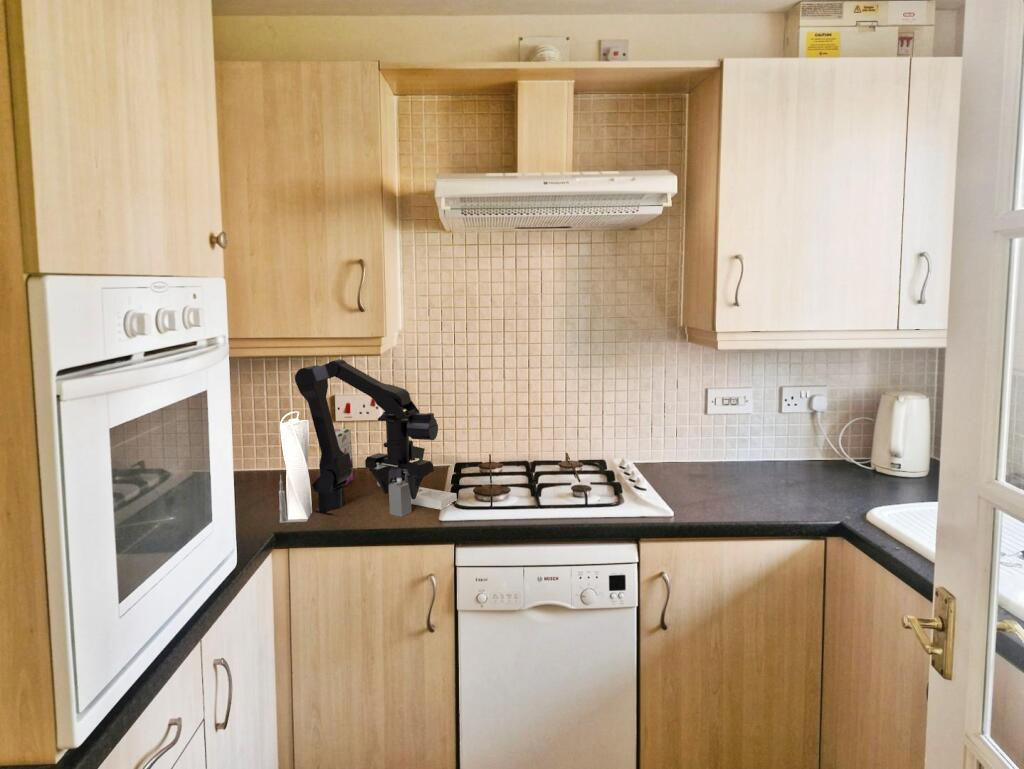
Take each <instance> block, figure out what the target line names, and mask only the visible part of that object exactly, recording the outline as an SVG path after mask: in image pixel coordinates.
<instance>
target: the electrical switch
mask: <svg viewBox="0 0 1024 769" xmlns="http://www.w3.org/2000/svg"><path fill="white" fill-rule="evenodd" d="M403 465H404V464H403ZM408 475H409V473H408V471H407V469H402V468H396V467H391V468H390V471H389V485H390V484H393V483H396V482H397V478H402V482H405V483H408V479H407V476H408ZM376 485H377V486H378V487H381V486H380V485H379V483H378V481H377V480H376Z"/></svg>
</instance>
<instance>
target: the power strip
mask: <svg viewBox="0 0 1024 769" xmlns="http://www.w3.org/2000/svg"><path fill="white" fill-rule="evenodd" d="M457 496H458V495H457V493H456V492H449V491H443V490H439V489H434V488H426V487H422V486H420V487H419V490H418V493H417V496H416V499H414V500H413V499H412V498H411V505H416V506H418V507H419V506H421V507H425V508H430V509H436V510H443V508H444V507H445V506H447V505H448V504H450V503H452V502H454V501H457V502H458V498H457ZM444 509H445V508H444Z"/></svg>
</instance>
